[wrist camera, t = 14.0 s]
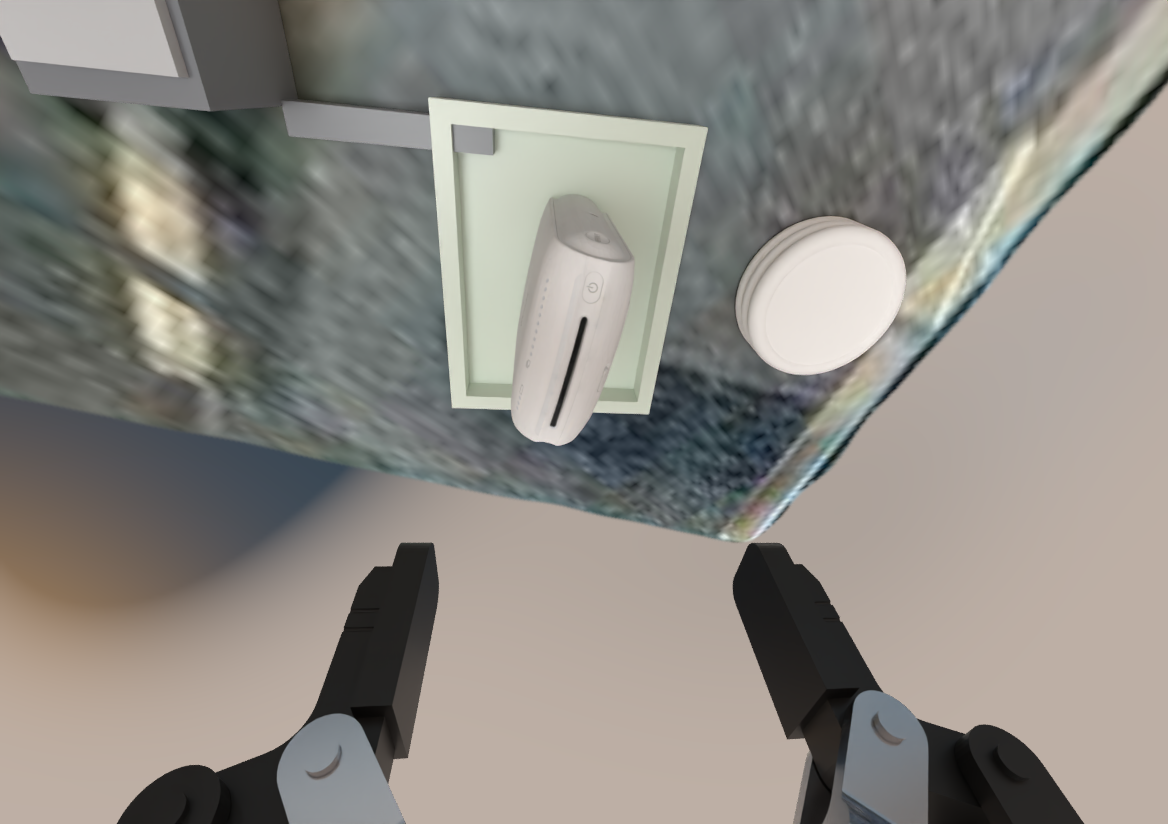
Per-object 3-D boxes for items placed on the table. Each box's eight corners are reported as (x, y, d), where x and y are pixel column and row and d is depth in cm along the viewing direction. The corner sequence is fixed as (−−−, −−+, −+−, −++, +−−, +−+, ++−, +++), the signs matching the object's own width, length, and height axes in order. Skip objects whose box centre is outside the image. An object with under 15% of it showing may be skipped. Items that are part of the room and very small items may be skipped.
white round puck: (904, 277, 33) (939, 295, 30) (789, 377, 37) (810, 402, 34) (822, 178, 29) (854, 189, 26) (703, 303, 33) (719, 324, 30)
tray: (437, 96, 25) (428, 97, 23) (695, 124, 26) (708, 127, 24) (457, 389, 35) (452, 407, 33) (642, 396, 36) (648, 414, 34)
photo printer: (544, 181, 27) (548, 239, 17) (616, 202, 28) (661, 268, 17) (511, 341, 32) (498, 459, 22) (571, 354, 33) (586, 472, 23)
